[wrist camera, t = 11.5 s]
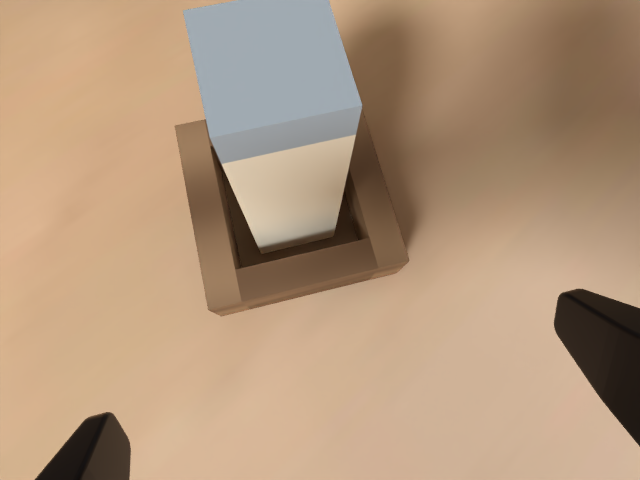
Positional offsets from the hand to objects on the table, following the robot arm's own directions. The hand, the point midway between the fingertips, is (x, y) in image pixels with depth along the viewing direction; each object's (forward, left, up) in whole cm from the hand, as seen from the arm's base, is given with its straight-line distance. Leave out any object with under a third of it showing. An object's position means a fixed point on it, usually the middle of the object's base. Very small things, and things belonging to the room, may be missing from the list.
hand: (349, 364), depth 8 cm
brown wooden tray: (+1, -8, -13) cm, 16 cm away
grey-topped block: (+1, -8, -13) cm, 16 cm away
